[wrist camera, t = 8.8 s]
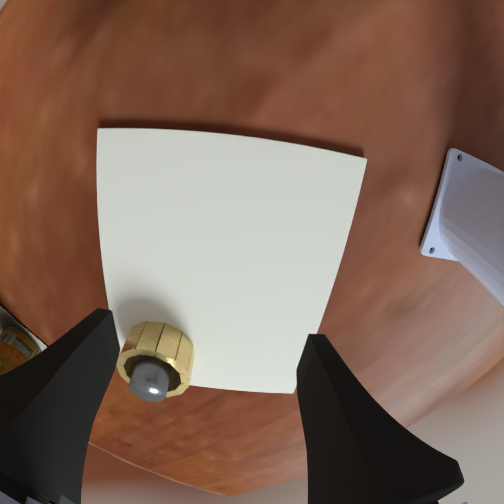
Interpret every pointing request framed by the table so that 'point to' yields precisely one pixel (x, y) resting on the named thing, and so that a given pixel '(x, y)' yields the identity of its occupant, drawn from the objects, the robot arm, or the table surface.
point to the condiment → (16, 343)
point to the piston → (150, 378)
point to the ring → (159, 352)
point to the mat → (224, 244)
